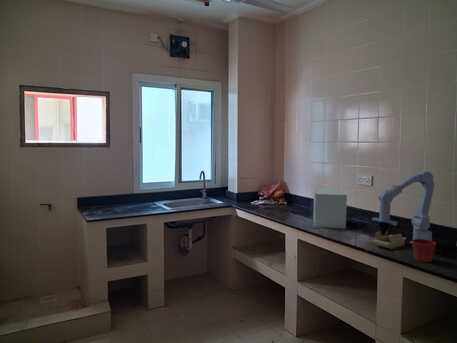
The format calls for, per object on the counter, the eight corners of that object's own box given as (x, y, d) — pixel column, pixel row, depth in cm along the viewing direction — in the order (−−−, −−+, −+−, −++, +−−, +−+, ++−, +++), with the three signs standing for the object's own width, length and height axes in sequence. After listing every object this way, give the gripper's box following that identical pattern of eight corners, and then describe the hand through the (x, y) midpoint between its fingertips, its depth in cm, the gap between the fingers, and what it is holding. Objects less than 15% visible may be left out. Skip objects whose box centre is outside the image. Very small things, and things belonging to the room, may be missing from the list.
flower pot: (409, 255, 184) (409, 237, 183) (431, 257, 181) (432, 239, 180) (413, 261, 174) (414, 243, 173) (437, 264, 171) (439, 245, 170)
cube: (313, 219, 270) (314, 189, 268) (341, 221, 265) (342, 190, 263) (314, 227, 245) (315, 193, 243) (345, 229, 241) (346, 195, 239)
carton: (407, 244, 204) (408, 238, 204) (387, 250, 192) (388, 244, 191) (390, 239, 213) (390, 234, 213) (370, 245, 201) (370, 240, 200)
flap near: (403, 239, 202) (403, 239, 201) (392, 243, 195) (392, 243, 194) (400, 233, 203) (400, 233, 203) (389, 236, 196) (389, 236, 196)
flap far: (387, 229, 209) (387, 229, 210) (376, 232, 202) (375, 232, 202) (386, 235, 210) (386, 235, 210) (375, 239, 203) (375, 238, 203)
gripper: (369, 211, 207) (369, 232, 209) (393, 215, 196) (391, 238, 197) (376, 209, 211) (375, 231, 213) (399, 213, 200) (398, 236, 201)
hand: (383, 234), depth 205 cm, fingers closed
